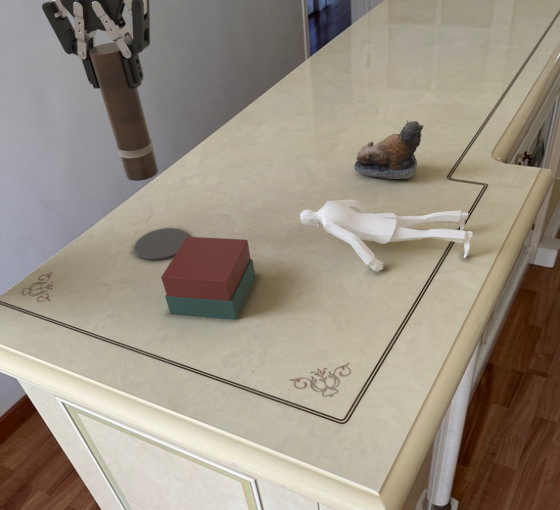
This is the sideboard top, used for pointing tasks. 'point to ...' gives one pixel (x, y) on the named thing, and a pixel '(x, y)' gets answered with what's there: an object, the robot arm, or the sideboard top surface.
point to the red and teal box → (209, 278)
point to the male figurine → (381, 227)
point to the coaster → (160, 244)
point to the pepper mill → (124, 112)
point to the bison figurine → (391, 154)
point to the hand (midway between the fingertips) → (118, 85)
